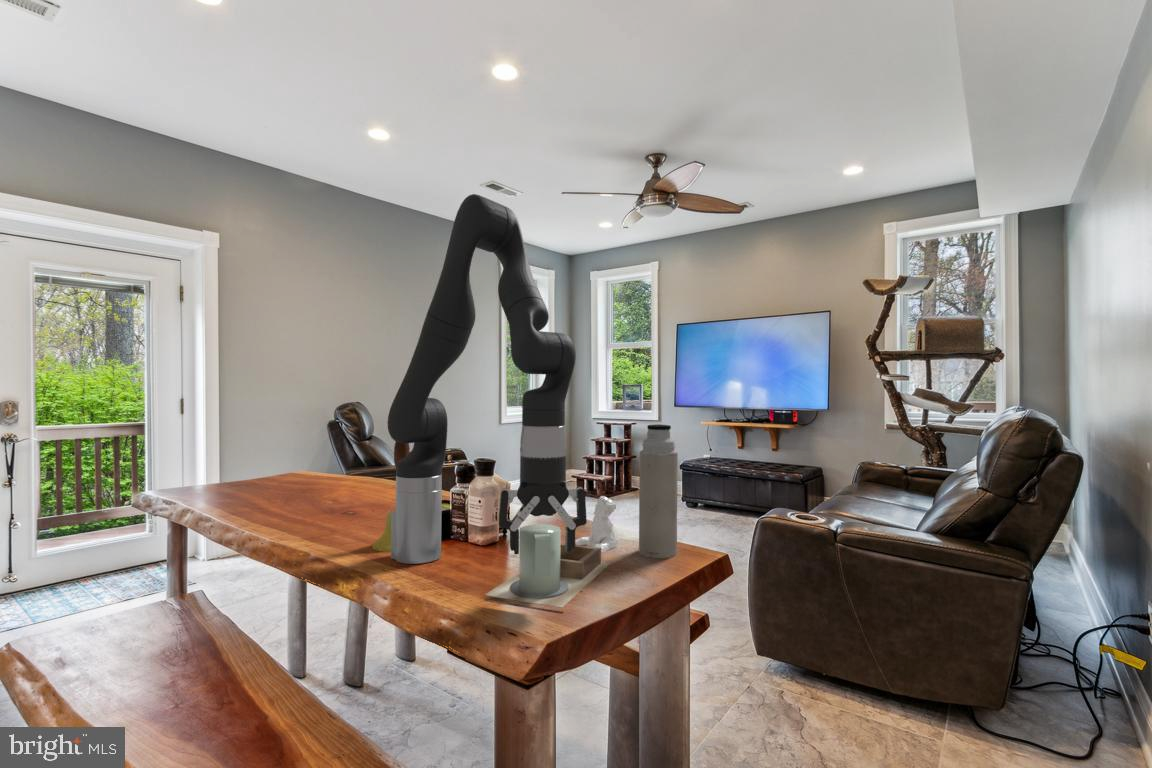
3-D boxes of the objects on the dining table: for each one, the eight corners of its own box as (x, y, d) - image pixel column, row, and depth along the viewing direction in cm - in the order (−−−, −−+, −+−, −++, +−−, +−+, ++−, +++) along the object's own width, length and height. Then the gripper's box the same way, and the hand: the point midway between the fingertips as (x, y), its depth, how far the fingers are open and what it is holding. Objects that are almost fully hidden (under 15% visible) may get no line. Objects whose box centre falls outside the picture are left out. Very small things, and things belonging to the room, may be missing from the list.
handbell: (367, 553, 121) (368, 436, 121) (376, 538, 133) (377, 431, 133) (427, 550, 123) (428, 435, 123) (430, 536, 135) (431, 431, 135)
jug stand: (484, 600, 94) (484, 576, 94) (544, 560, 116) (544, 541, 116) (561, 613, 89) (562, 588, 89) (609, 569, 111) (609, 548, 111)
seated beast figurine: (572, 548, 126) (572, 494, 126) (604, 543, 130) (605, 491, 131) (594, 559, 118) (594, 501, 118) (628, 553, 122) (628, 498, 122)
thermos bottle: (631, 557, 119) (632, 424, 119) (651, 549, 125) (652, 423, 125) (664, 565, 114) (665, 426, 114) (683, 556, 120) (684, 424, 120)
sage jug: (518, 581, 100) (518, 524, 100) (557, 580, 101) (558, 523, 101) (520, 602, 90) (521, 539, 90) (564, 600, 91) (565, 538, 91)
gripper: (582, 450, 98) (581, 544, 97) (499, 451, 96) (498, 547, 95) (589, 455, 90) (589, 557, 90) (499, 456, 88) (498, 560, 88)
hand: (542, 552), depth 93 cm, fingers open, 8 cm apart
